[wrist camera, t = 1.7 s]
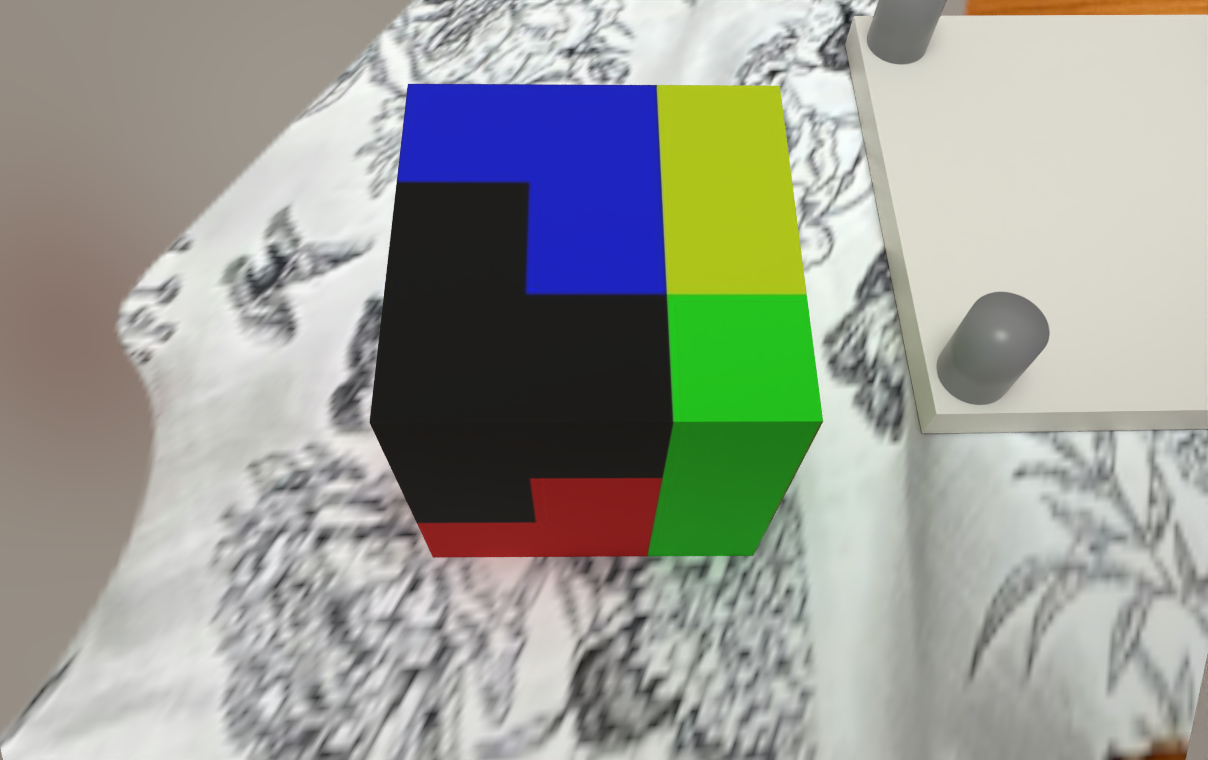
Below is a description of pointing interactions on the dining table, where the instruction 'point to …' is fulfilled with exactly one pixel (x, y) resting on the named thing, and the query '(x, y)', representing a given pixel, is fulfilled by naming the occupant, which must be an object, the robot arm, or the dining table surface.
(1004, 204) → the stub base
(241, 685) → the dining table surface
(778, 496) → the puzzle toy
